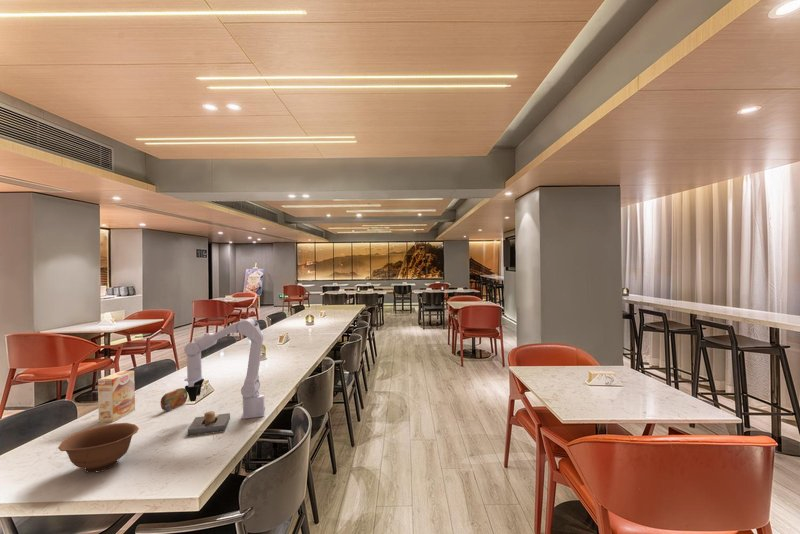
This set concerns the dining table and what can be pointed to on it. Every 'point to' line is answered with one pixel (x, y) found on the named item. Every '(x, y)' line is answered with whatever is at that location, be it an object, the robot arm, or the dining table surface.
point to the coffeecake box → (116, 396)
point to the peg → (209, 417)
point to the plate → (209, 425)
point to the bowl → (99, 446)
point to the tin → (174, 399)
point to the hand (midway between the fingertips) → (195, 398)
